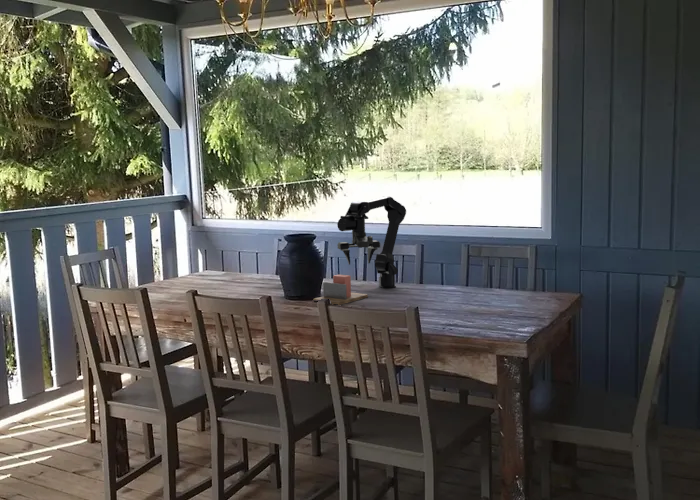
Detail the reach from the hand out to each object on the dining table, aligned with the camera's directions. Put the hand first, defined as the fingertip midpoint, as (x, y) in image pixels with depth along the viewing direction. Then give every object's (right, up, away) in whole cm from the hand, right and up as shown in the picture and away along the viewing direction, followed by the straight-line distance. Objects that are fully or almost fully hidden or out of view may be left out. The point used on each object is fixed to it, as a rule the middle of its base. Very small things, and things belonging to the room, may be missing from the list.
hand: (359, 263), depth 317 cm
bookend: (-11, -14, -17) cm, 25 cm away
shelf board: (-8, -15, -13) cm, 21 cm away
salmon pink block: (-8, -14, -13) cm, 20 cm away
